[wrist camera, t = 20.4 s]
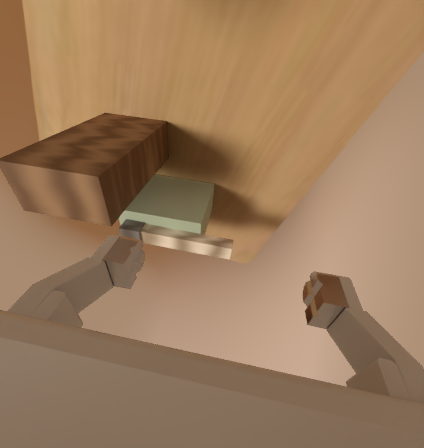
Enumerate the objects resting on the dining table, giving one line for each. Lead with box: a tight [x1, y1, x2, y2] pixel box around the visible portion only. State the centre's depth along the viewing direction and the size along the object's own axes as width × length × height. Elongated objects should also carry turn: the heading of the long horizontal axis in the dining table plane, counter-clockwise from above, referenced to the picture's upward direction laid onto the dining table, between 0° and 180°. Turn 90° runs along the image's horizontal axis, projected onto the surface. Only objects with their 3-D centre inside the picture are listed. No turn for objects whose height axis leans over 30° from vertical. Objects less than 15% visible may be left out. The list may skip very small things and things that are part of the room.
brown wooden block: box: [0, 113, 169, 226], centre depth 40 cm, size 14×8×26 cm, turn 85°
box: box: [119, 174, 215, 235], centre depth 52 cm, size 17×8×16 cm, turn 85°
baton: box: [119, 219, 233, 260], centre depth 44 cm, size 22×4×3 cm, turn 85°
